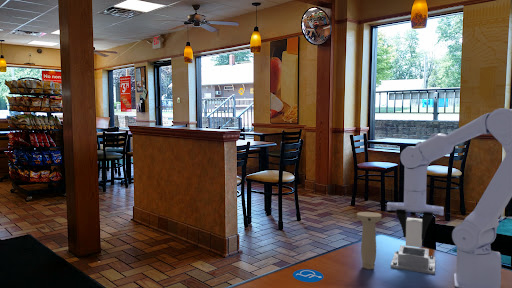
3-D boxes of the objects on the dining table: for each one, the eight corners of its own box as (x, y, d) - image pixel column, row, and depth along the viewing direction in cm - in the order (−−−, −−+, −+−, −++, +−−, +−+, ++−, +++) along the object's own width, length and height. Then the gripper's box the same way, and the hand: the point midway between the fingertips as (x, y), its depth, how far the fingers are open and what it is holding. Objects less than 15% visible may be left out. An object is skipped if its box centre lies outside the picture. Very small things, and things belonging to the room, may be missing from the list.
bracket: (435, 259, 111) (435, 247, 110) (434, 274, 101) (435, 261, 100) (394, 254, 115) (395, 242, 115) (390, 267, 105) (390, 255, 105)
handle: (381, 272, 102) (382, 217, 101) (356, 270, 104) (356, 215, 103) (380, 265, 107) (380, 212, 106) (356, 263, 109) (356, 211, 107)
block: (421, 243, 109) (422, 218, 108) (421, 247, 105) (421, 222, 105) (406, 241, 110) (407, 217, 110) (405, 245, 107) (406, 220, 106)
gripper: (444, 188, 107) (442, 236, 108) (389, 185, 113) (388, 230, 114) (444, 193, 100) (442, 244, 101) (386, 189, 107) (385, 237, 108)
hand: (414, 237), depth 107 cm, fingers closed on block, 4 cm apart
